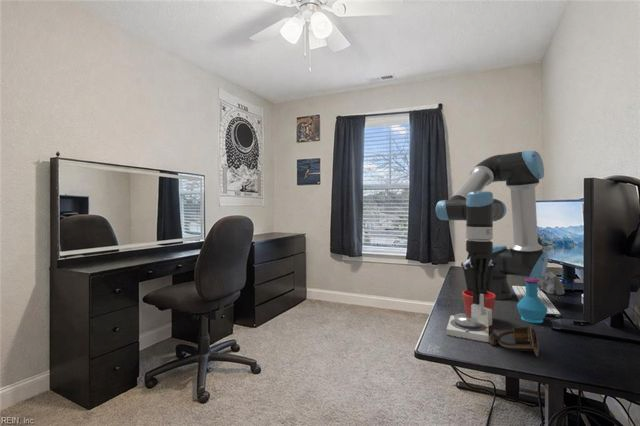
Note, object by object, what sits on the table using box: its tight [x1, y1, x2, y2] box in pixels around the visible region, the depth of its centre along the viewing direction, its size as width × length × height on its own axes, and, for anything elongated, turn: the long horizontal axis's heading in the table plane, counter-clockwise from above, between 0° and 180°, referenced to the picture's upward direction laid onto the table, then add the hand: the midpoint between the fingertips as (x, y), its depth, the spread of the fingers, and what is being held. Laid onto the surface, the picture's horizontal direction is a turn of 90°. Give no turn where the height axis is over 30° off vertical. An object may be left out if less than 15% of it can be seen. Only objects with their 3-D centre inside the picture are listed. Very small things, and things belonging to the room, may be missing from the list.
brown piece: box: [488, 326, 539, 357], centre depth 89 cm, size 7×13×10 cm
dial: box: [453, 304, 493, 328], centre depth 100 cm, size 12×8×7 cm
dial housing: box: [446, 315, 490, 343], centre depth 102 cm, size 14×12×2 cm
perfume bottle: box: [516, 277, 548, 324], centre depth 110 cm, size 9×9×15 cm
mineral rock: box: [537, 271, 566, 296], centre depth 146 cm, size 13×11×10 cm
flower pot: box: [461, 289, 496, 314], centre depth 111 cm, size 11×11×10 cm
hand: (478, 314), depth 96 cm, fingers closed
